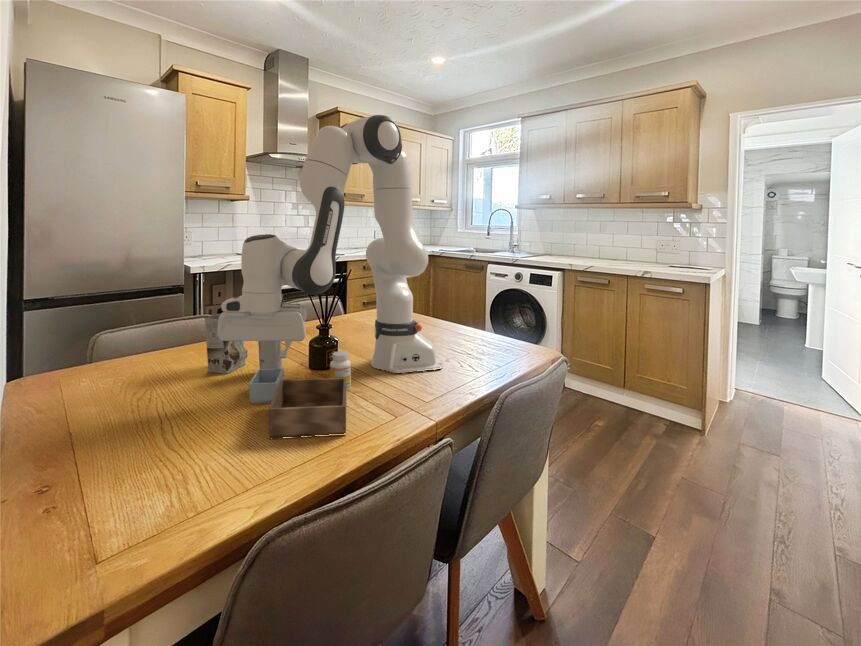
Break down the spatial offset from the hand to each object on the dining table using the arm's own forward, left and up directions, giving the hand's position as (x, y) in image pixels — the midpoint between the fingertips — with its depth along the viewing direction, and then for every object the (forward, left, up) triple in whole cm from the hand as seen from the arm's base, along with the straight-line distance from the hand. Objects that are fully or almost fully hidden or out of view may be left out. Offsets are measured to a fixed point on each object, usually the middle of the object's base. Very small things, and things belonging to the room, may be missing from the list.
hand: (263, 357), depth 111 cm
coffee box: (+14, -22, -10) cm, 28 cm away
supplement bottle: (-19, -3, -10) cm, 21 cm away
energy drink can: (+1, -17, -10) cm, 20 cm away
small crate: (-1, 0, -10) cm, 10 cm away
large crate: (-13, +16, -10) cm, 22 cm away
